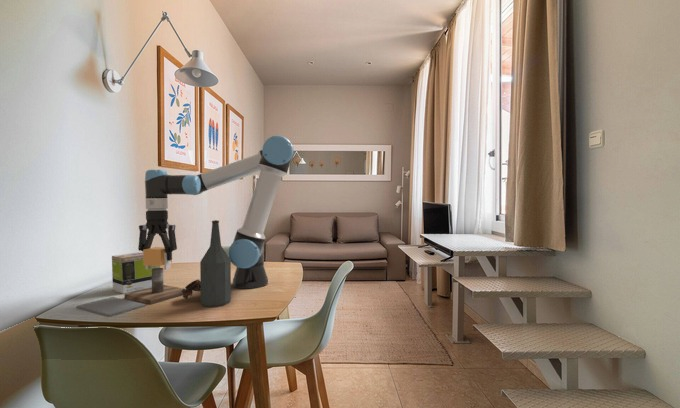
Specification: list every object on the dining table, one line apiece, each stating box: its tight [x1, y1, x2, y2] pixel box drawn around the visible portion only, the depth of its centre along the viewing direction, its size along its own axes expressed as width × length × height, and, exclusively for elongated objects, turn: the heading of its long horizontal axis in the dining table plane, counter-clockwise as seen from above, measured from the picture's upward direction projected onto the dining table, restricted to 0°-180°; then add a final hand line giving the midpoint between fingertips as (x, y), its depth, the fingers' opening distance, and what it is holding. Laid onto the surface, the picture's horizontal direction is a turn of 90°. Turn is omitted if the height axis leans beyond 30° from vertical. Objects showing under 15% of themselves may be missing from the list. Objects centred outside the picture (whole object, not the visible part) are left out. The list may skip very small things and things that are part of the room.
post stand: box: [123, 267, 186, 305], centre depth 132 cm, size 16×16×10 cm
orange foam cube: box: [142, 246, 173, 267], centre depth 132 cm, size 7×7×6 cm
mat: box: [75, 296, 147, 317], centre depth 118 cm, size 20×12×1 cm, turn 63°
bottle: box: [199, 219, 232, 308], centre depth 123 cm, size 10×10×30 cm
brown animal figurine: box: [182, 279, 201, 300], centre depth 129 cm, size 12×9×8 cm
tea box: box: [111, 251, 161, 294], centre depth 143 cm, size 15×10×15 cm
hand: (158, 268), depth 132 cm, fingers closed on orange foam cube, 7 cm apart
